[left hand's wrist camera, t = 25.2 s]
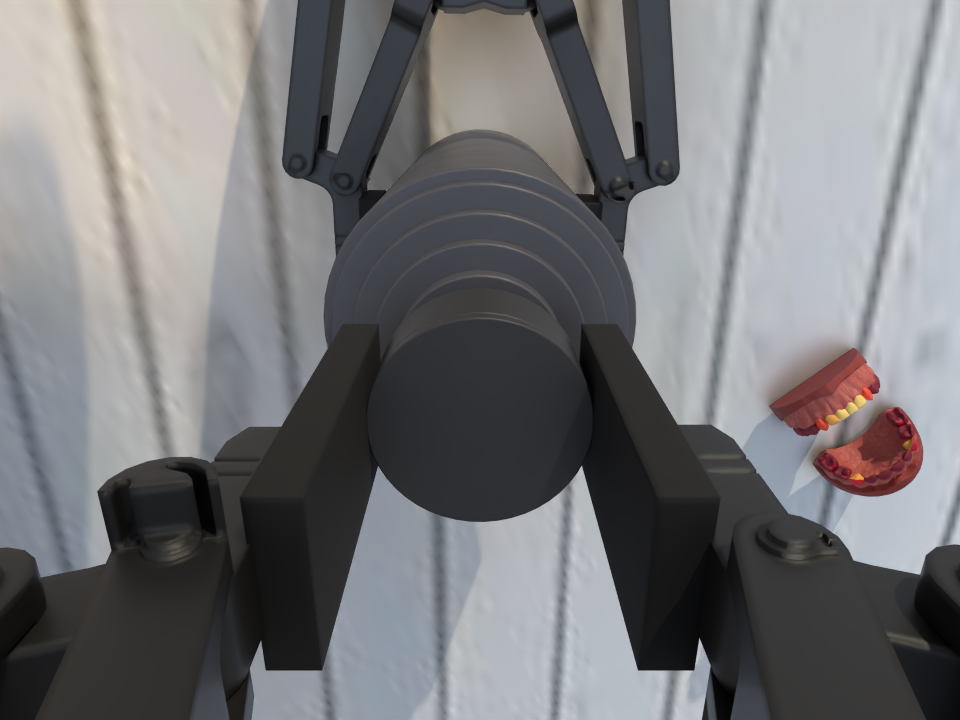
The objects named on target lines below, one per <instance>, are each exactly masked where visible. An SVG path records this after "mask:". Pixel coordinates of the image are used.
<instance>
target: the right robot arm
mask: <svg viewBox="0 0 960 720" xmlns="http://www.w3.org/2000/svg"><path fill="white" fill-rule="evenodd" d="M622 3H623V15H624V27H625V39H626V51H627V63H628V75H629V87H630V99H631V111H632V122H633V134H634V146H635V157H632V158H629V159H626V160H625V158H624V155H623V152H622V149H621V146H620V143H619V141H618V138H617V135H616V132H615V129H614V126H613V123H612V120H611V117H610V114H609V111H608V108H607V106H606V103H605V100H604V97H603V94H602V91H601V88H600V85H599V82H598V79H597V76H596V73H595V70H594V68H593V65H592V62H591V59H590V56H589V53H588V50H587V47H586V44H585V41H584V38H583V35H582V32H581V30H580V27H579V23H578V19H577V13H576V9H575V5H574V2H573V0H395V2H394V5H393V8H392V13H391V18H390V21H389V23H388V26H387V29H386V31H385V34H384V36H383V39H382V41H381V44H380V47H379V49H378V52H377V54H376V57H375V60H374V62H373V65H372V67H371V70H370V72H369V75H368V78H367V80H366V83H365V85H364V88H363V91H362V93H361V96H360V98H359V101H358V103H357V106H356V109H355V111H354V114H353V116H352V119H351V122H350V124H349V127H348V129H347V132H346V135H345V137H344V140H343V142H342V145H341V147H340V150H339V153H338V154H335V153H333V152H330V151H328V150H327V146H328V138H329V130H330V122H331V114H332V106H333V97H334V89H335V81H336V73H337V65H338V57H339V48H340V40H341V32H342V24H343V16H344V8H345V0H298V7H297V17H296V27H295V37H294V47H293V57H292V67H291V77H290V87H289V97H288V107H287V117H286V127H285V137H284V147H283V157H282V163H283V167H284V169H285V172H286V173H287V174H289V175H290V176H291V177H294V178H297V179H305V180H308V181H310V182H313V183H315V184H318V185H320V186H322V187H324V188H325V189H326V190H327V191H328V192H329V194H330V195H331V198H332V201H333V213H334V230H335V245H336V257H337V255H338V253H339V251H340V249H341V247H342V245H343V243H344V242H345V240H346V238H347V237H348V236H349V234H350V233H351V231H352V230H353V229H354V227H355V226H356V225H357V223H358V222H359V221H360V220H361V219H362V218H363V217H364V216H365V215H366V213H367V212H368V211H369V210H370V209H371V208H372V207H373V206H374V205H375V204H376V203H377V202H378V201H379V200H380V199H381V198H382V196H383V195H384V194H385V193H386V190H368V191H367V183H368V181H369V180H370V178H369V176H370V174H371V171H372V169H373V166H374V164H375V161H376V159H377V156H378V154H379V152H380V149H381V147H382V144H383V142H384V139H385V137H386V134H387V132H388V130H389V127H390V125H391V122H392V120H393V117H394V115H395V112H396V110H397V107H398V105H399V103H400V100H401V98H402V95H403V93H404V90H405V88H406V85H407V83H408V80H409V78H410V76H411V73H412V71H413V68H414V66H415V63H416V61H417V58H418V56H419V54H420V51H421V49H422V46H423V44H424V41H425V39H426V37H427V35H428V34H429V32H430V29H431V27H432V25H433V22H434V20H435V17H436V15H437V13H438V10H439V9H440V10H443V11H444V12H445V13H457V14H465V13H468V12H472V11H476V10H479V9H483V8H486V9H489V10H492V11H495V12H498V13H501V14H505V15H524V13H525V12H528V11H530V14H531V17H532V19H533V22H534V25H535V28H536V30H537V33H538V35H539V37H540V39H541V41H542V43H543V46H544V49H545V51H546V54H547V57H548V60H549V62H550V65H551V68H552V71H553V73H554V76H555V79H556V82H557V84H558V87H559V90H560V93H561V95H562V98H563V101H564V104H565V106H566V109H567V112H568V115H569V117H570V120H571V123H572V126H573V128H574V131H575V134H576V137H577V139H578V142H579V145H580V148H581V150H582V153H583V156H584V159H585V161H586V164H587V167H588V170H589V172H590V175H591V178H592V181H593V183H594V186H595V187H594V195H593V194H576V195H577V196H578V198H579V199H580V200H581V201H582V202H583V203H584V204H585V205H586V206H587V207H588V208H589V209H590V210H591V211H592V212H593V214H594V215H595V216H596V217H597V218H598V219H599V220H600V221H601V223H602V224H603V225H604V226H605V227H606V228H607V230H608V231H609V233H610V234H611V236H612V237H613V239H614V240H615V242H616V243H617V245H618V247H619V249H620V251H621V253H622V255H623V250H624V241H625V232H626V222H627V212H628V206H629V203H630V201H631V200H632V199H633V197H634V196H635V195H636V194H638V193H639V192H641V191H644V190H647V189H650V188H653V187H656V186H659V185H662V186H666V185H668V184H671V183H672V182H673V181H675V180H676V178H677V176H678V175H679V170H680V163H679V147H678V130H677V114H676V97H675V81H674V65H673V48H672V32H671V15H670V0H622Z"/></svg>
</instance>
